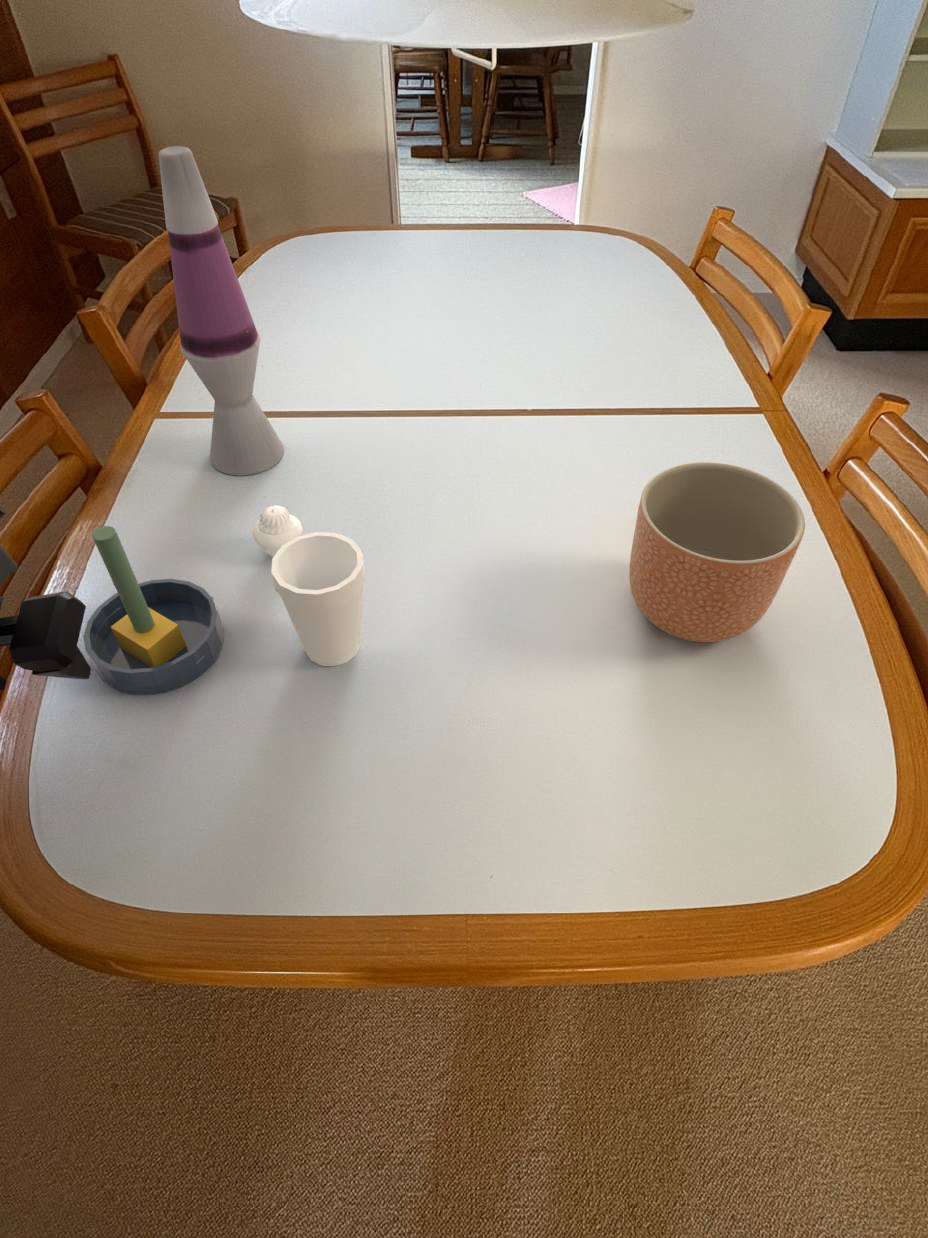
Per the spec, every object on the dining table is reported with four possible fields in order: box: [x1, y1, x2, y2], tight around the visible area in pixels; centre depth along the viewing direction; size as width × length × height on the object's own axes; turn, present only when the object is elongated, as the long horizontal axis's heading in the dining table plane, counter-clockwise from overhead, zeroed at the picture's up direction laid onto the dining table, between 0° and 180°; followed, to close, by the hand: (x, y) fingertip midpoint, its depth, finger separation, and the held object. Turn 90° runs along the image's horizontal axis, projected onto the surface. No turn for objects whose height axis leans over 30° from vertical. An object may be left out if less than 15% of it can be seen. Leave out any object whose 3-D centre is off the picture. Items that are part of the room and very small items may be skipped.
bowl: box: [82, 578, 225, 696], centre depth 89 cm, size 14×14×4 cm
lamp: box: [158, 145, 285, 477], centre depth 101 cm, size 11×11×40 cm
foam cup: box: [270, 531, 366, 667], centre depth 85 cm, size 10×9×13 cm
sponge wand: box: [92, 525, 186, 668], centre depth 83 cm, size 4×6×17 cm
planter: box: [628, 461, 806, 643], centre depth 89 cm, size 17×17×15 cm
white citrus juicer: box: [252, 505, 304, 558], centre depth 98 cm, size 6×6×7 cm
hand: (45, 680), depth 73 cm, fingers open, 9 cm apart
